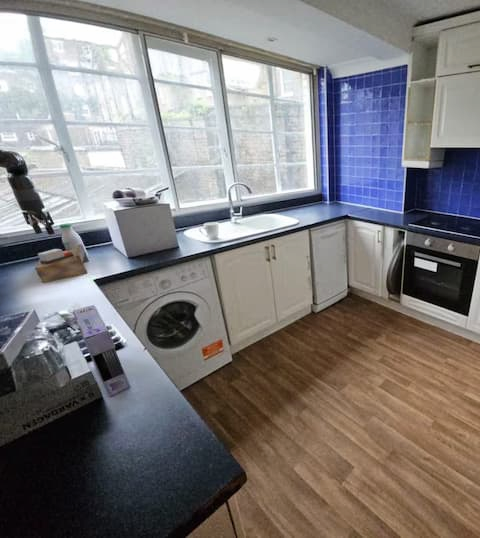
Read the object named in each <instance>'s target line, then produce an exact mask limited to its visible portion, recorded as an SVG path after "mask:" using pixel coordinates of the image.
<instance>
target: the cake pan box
mask: <svg viewBox="0 0 480 538" xmlns="http://www.w3.org/2000/svg"><path fill="white" fill-rule="evenodd" d="M72 314H73V317H74V319H75V321H76V322H75V323H76V324H77V326H78V329H79V332H80V334H81V337H82V340H83V342H84V345H85V347H86V349H87V351H88V353H89V356H90V358H91V360H92V363H93V365H94V367H95V370H96V372H97V375H98V376H99V379H100V380H101V383H102V384H103V386H104V388H105V391H106V393H107V394H108V397H109V398H112V397H114V396H115V395H118V394H119V393H121V392H123V391H125V390H127V389H130V388H131V384H130V382H129V379H128V377H127V375H126V372H125V370H124V368H123V366H122V363H121V361H120V358H119V356H118V353H117V350H116V345H115V342H114V340H113V338H112V335H111V334H110V331H109V329H108V327H107V325H106V323H105V321H104V320H103V318H102V316H101V315H100V313H99V311H98V309H97V307H96V306H95V304H92V305H87V306H84V307H80V308H76V309H73V310H72Z"/></svg>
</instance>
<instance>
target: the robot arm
mask: <svg viewBox="0 0 480 538" xmlns="http://www.w3.org/2000/svg"><path fill="white" fill-rule="evenodd" d="M0 168H3V169H5V170H6V173H7V178H6V180H7V182H8V185H9V186H10V188H11V190H12V193H13V196H14V198H15V200H16V202H17V204H18V206H19V208H20V211H22V212H21V213H22V216H23V218H24V220H25V222H26V225H28V226H30V227H32V229H33V231H34V234H35V235H40V234H42V233H43V231H42V229H41V226H40V225H39V224H41V225H43V227H44V229H45V231H46V233H47V235H49V236H52V235H55V234H56V232H55V231H54V228H53V227H52V226H54V225H55V222H54V220H53V218H52V216H51V214H50V212H49V211H43V209H46V206H45V204H44V202H43V199H42V198H41V195H40V193H39V191H38V190H37V188H36V187H35V184H34V182H33V180H32V178H31V176H30V171H29V168H28V164H27V162H26V159H25V158H24V157H23V156H22V154H21V153H18V152H17V151H13V150H3V149H0Z"/></svg>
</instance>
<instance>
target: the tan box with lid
mask: <svg viewBox="0 0 480 538" xmlns="http://www.w3.org/2000/svg"><path fill="white" fill-rule="evenodd" d="M62 251H63V252H64V251H65V250H62ZM67 251H70V252H72V254H73V255H74V256H72V257H69V258H65V259H62V260H59V261H56V262H53V263H49V264H42V263H40V261H41V260H40V259H39V260H38V262H37V264H36V265H35V268H34V269H35V271H36V273H37V275H38V277H39V279H40V282H41V283H43V284H44V283H48V282H54V281H58V280H63V279H67V278H72V277H76V275H77V276H81V275H80V274H82V275H85V273H86V274H88V273H87V272H88V270H87V268H86V265H85V264H84V263H86V262H89V261H90V259H89V257H87V254H86V252H85V250H84V247H83V245H82V244H80V245H78V249H73V250H67ZM71 276H72V277H71Z"/></svg>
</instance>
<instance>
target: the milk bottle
mask: <svg viewBox="0 0 480 538" xmlns="http://www.w3.org/2000/svg"><path fill="white" fill-rule="evenodd" d="M59 228H60V230H61V232H62V234H61V241H62V244H63V246H64V248H65V251H67V250H73V249H78V245H80V244H82V245H83V247H84V250H85V252H86V254H87V257H88V258H89V257H90V256H89V253H88V250H87V249H86V246H85V244H84V242H83V240H82V237H81V236H80V235H79V233H77V232H76V231H75V230H74V229H73V225H72V224H71V223H69V222H67V223H62V224H60V225H59Z"/></svg>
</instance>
